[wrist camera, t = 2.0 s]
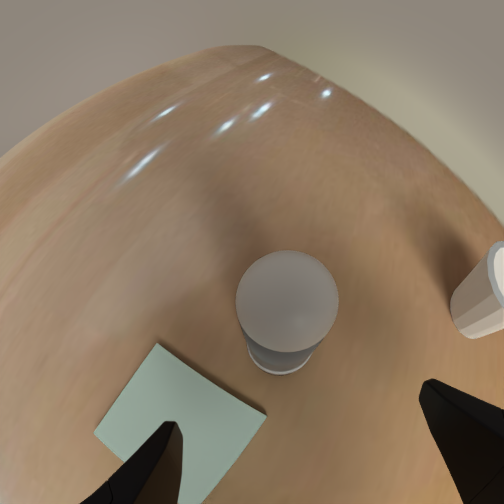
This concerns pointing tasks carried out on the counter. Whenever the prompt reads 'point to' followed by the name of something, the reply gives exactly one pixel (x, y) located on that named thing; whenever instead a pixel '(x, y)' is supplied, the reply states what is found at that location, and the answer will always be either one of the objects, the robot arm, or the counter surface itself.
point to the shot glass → (481, 296)
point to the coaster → (181, 421)
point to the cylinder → (285, 309)
